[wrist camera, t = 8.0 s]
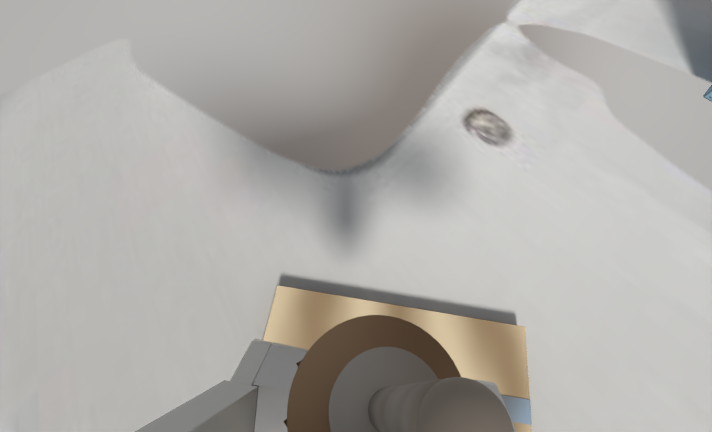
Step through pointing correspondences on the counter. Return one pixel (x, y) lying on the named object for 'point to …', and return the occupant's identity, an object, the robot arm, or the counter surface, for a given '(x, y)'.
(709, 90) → the gum box
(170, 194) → the counter surface
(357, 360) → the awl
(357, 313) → the plywood panel
